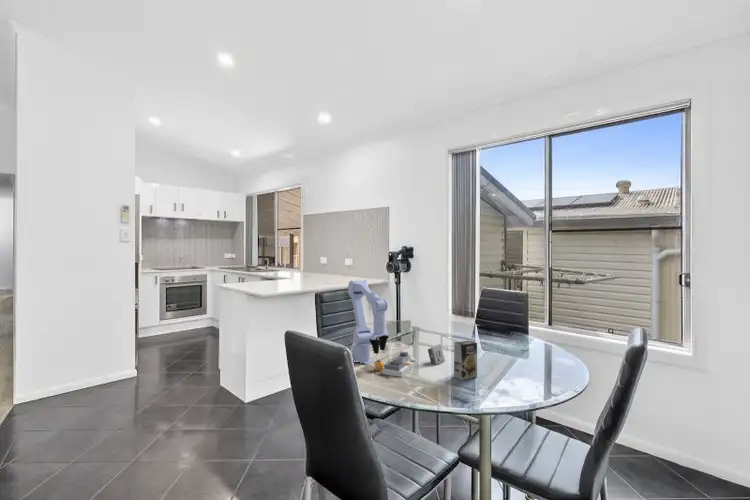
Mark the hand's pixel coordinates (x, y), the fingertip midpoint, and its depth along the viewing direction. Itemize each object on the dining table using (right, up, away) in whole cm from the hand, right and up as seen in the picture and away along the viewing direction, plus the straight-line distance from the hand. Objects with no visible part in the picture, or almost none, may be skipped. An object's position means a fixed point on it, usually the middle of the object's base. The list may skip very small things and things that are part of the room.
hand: (379, 351), depth 182 cm
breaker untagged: (+13, -5, +9) cm, 17 cm away
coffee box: (+40, -9, -11) cm, 43 cm away
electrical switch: (+31, -10, +13) cm, 35 cm away
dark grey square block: (+10, -7, +3) cm, 12 cm away
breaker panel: (+11, -9, +1) cm, 14 cm away
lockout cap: (0, -9, 0) cm, 9 cm away
